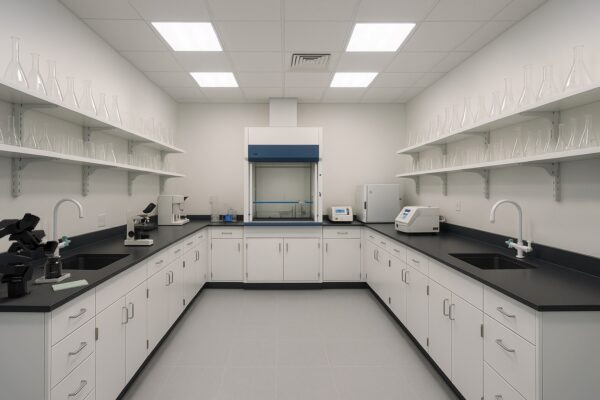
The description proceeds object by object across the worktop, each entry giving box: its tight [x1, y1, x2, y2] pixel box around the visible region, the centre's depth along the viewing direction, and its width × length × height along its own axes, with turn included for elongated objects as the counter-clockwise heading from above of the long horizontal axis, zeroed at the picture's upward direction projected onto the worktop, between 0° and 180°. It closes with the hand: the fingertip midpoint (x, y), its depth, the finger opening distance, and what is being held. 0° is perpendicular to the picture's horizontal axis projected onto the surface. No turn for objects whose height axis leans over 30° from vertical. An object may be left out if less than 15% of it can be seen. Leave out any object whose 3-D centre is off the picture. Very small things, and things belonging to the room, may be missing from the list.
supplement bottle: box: [44, 255, 63, 279], centre depth 152 cm, size 7×7×12 cm
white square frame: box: [35, 273, 71, 284], centre depth 152 cm, size 10×10×2 cm
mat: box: [51, 279, 89, 292], centre depth 142 cm, size 13×10×1 cm
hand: (42, 257), depth 144 cm, fingers open, 9 cm apart
